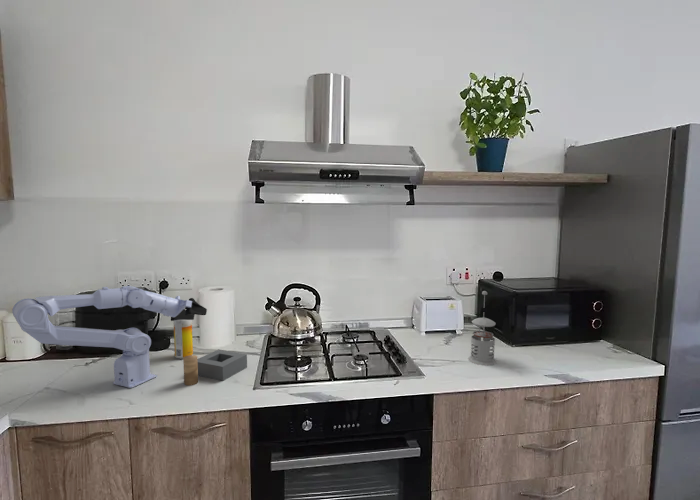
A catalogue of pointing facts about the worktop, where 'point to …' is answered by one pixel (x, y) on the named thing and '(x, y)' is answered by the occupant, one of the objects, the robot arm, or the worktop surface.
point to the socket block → (221, 364)
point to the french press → (482, 342)
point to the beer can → (183, 338)
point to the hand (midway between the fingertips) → (199, 314)
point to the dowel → (190, 370)
